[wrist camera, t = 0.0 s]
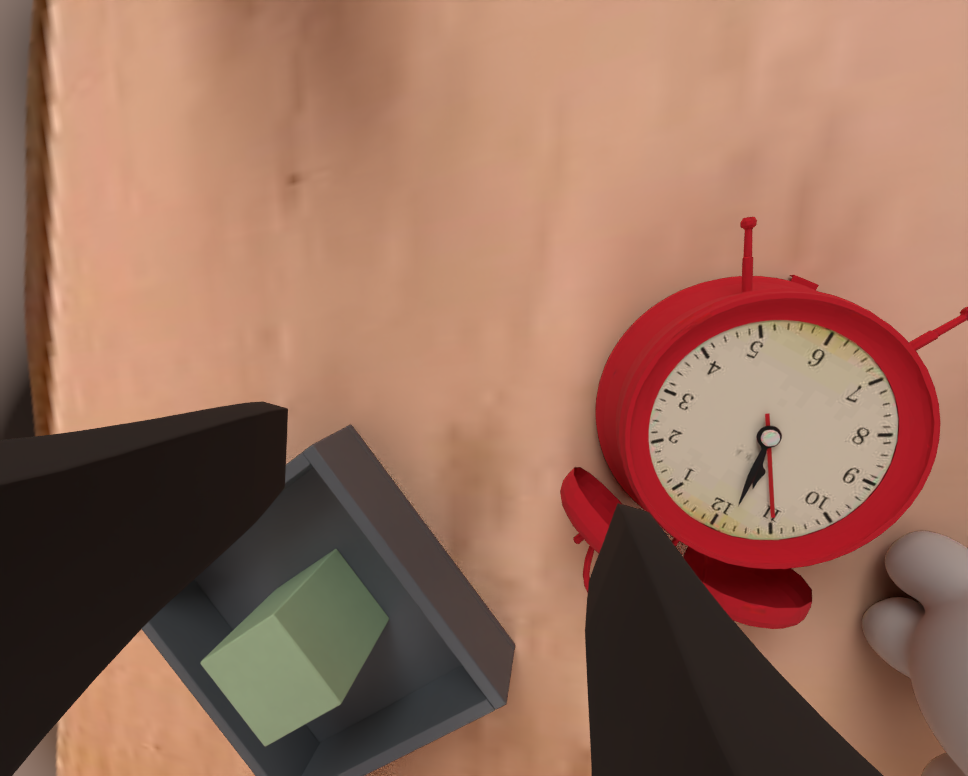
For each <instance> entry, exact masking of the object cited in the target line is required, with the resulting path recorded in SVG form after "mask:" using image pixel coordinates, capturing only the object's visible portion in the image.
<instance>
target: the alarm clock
mask: <svg viewBox="0 0 968 776" xmlns="http://www.w3.org/2000/svg"><path fill="white" fill-rule="evenodd" d="M756 223H757V220H756V218H755V217H747V218H743V219H742V221H741V223H740V224H741V228H743V229H744V230H745V236H744V257H743V262H742V276H738V277H728V278H722V279H717V280H712V281H708V282H703V283H700V284H697V285H694V286H691V287H689V288H686V289H683V290H681V291H679V292H677V293H675V294H673V295H671V296H669V297H667V298H665V299H664V300H662V301H660V302H659V303H657V304H656V305H655V306H653V307H652V308H650V309H649V310H648V311H646V312H645V313H644V314H643V315H642V316H641V317H640V318H638V319H637V320H636V321H635V322H634V323H633V324H632V325H631V327H630V328H629V329H628V330H627V331H626V332H625V333H624V335H623V336H622V337H621V339H620V340H619V342H618V343H617V344H616V346H615V348H614V349H613V351H612V353H611V354H610V356H609V358H608V360H607V363H606V365H605V367H604V370H603V373H602V376H601V379H600V382H599V387H598V392H597V398H596V425H597V432H598V438H599V442H600V446H601V449H602V452H603V455H604V457H605V460H606V462H607V464H608V466H609V468H610V470H611V472H612V473H613V475H614V477H615V479H616V480H617V481H618V483H619V484H620V485H621V487H622V488H623V489H624V490H625V492H626V493H627V494H628V495H629V496H630V497H631V498H632V499H633V500H634V501H635V502H636V503H637V504H638V505H640V506H641V507H642V508H643V509H644V510H645V511H647V512H649V513H650V514H651V515H652V516H653V518H654V519H655V520H656V521H657V523H658V524H659V525H660V526H661V527H662V528H663V529H664V530H665V531H667V532H668V533H669V534H670V535H671V536H673V537H674V539H673V540H672V543H673V544H674V546H675V547H676V545H677V544H678V542H679V541H681V542H682V543H684V544H686V545H687V546H689V547H688V548H687V550H686V552H685V554H684V559H685V560H686V562H687V563H688V564H689V566H690V567H691V568H692V570H693V571H694V572H695V574H696V575H697V576H698V578H699V579H700V580H701V581H702V583H703V584H704V585H705V587H706V588H707V589H708V590H709V592H710V593H711V594H712V595H713V597H714V598H715V599H716V600H717V602H718V603H719V604H720V605H721V607H722V608H723V609H724V610H725V611H726V613H727V614H728V615H729V616H730V618H731V619H732V620H733V621H737V622H740V623H743V624H746V625H749V626H754V627H761V628H770V629H780V628H786V627H790V626H794V625H797V624H798V623H800V622H801V621H802V620H804V618H805V617H806V615H807V614H808V612H809V610H810V608H811V604H812V590H811V588H810V587H809V586H808V584H807V583H806V582H805V580H804V579H803V578H802V576H801V575H799V574H798V573H797V572H795V571H794V570H793V569H791V568H796V567H804V566H810V565H814V564H818V563H822V562H826V561H830V560H832V559H835V558H838V557H840V556H843V555H845V554H848V553H850V552H852V551H854V550H856V549H858V548H860V547H862V546H863V545H865V544H867V543H869V542H870V541H872V540H873V539H875V538H876V537H878V536H879V535H881V534H882V533H883V532H884V531H886V530H887V529H888V528H889V527H890V526H892V525H893V524H894V523H895V522H896V521H897V520H898V519H899V518H900V517H901V516H902V515H903V514H904V512H905V511H906V510H907V509H908V508H909V507H910V506H911V504H912V503H913V502H914V500H915V499H916V497H917V496H918V494H919V493H920V491H921V490H922V488H923V486H924V484H925V482H926V480H927V478H928V476H929V474H930V472H931V469H932V466H933V463H934V461H935V458H936V453H937V448H938V443H939V436H940V413H939V403H938V399H937V395H936V391H935V387H934V385H933V382H932V379H931V377H930V374H929V372H928V370H927V368H926V366H925V365H924V363H923V362H922V360H921V358H920V357H919V355H918V353H917V352H916V350H918V349H920V348H922V347H923V346H925V345H927V344H929V343H930V342H932V341H934V340H936V339H937V338H938V336H940V335H942V334H943V333H945V332H947V331H949V330H950V329H952V328H954V327H956V326H957V325H959V324H961V323H963V322H964V321H966V320H968V307H965V308H964V309H962V310H961V312H960V314H961V315H960V316H958V317H957V318H955V319H953V320H951V321H949V322H947V323H946V324H944V325H942V326H940V327H938V328H936V329H935V330H933V331H928V332H927V333H925V334H923V335H921V336H919V337H918V338H916V339H914V340H912V341H911V342H908V341H907V340H906V339H905V338H904V337H903V336H902V335H901V334H900V333H899V332H898V331H896V330H895V329H894V328H893V327H892V326H891V325H890V324H888V323H887V322H885V321H883V320H882V319H880V318H879V317H877V316H876V315H875V314H873V313H872V312H870V311H868V310H866V309H864V308H862V307H860V306H858V305H856V304H854V303H852V302H850V301H847V300H845V299H842V298H840V297H837V296H833V295H830V294H826V293H822V292H818V291H816V289H817V287H818V286H819V285H817V284H815V283H812V282H810V281H808V280H805V279H803V278H800V277H798V276H795V275H790V276H791V277H792V279H791V281H788V280H783V279H778V278H771V277H762V276H753V257H752V229H753V227H755V226H756ZM560 494H561V500H562V505H563V507H564V510H565V512H566V514H567V516H568V518H569V519H570V521H571V523H572V524H573V526H574V527H575V529H576V530H577V531H578V532H579V534H578V535H576V536H575V537H574V542H575V543H576V544H579V543H580V542H581V541H583V540H584V539H585V541H586V542H587V543H588V544H589V545H590V546H589V549H588V551H587V554H586V557H585V562H584V569H583V579H584V586H585V588H586V590H587V592H588V585H589V580H590V576H589V573H590V565H591V561H592V557H593V553H594V550H595V551H597V552H598V553H600V550H601V547H602V544H603V542H604V539H605V536H606V533H607V531H608V528H609V525H610V522H611V520H612V517H613V514H614V511H615V509H616V506H617V503H619V504H622V503H621V502H620V501H619V500H618V499H617V498H616V497H615V496H614V495H613V494H612V493H611V492H610V491H609V490H608V489H607V488H606V487H605V486H604V485H603V484H602V483H601V482H600V481H598V480H597V479H596V478H595V477H594V476H593V475H591V474H590V473H589V472H587V471H585V470H584V469H582V468H580V467H576V468H574V469H573V470H572V471H571V472H570V473H569V474H568V475H567V476H566V478H565V479H564V480H563V483H562V486H561V490H560Z"/></svg>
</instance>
